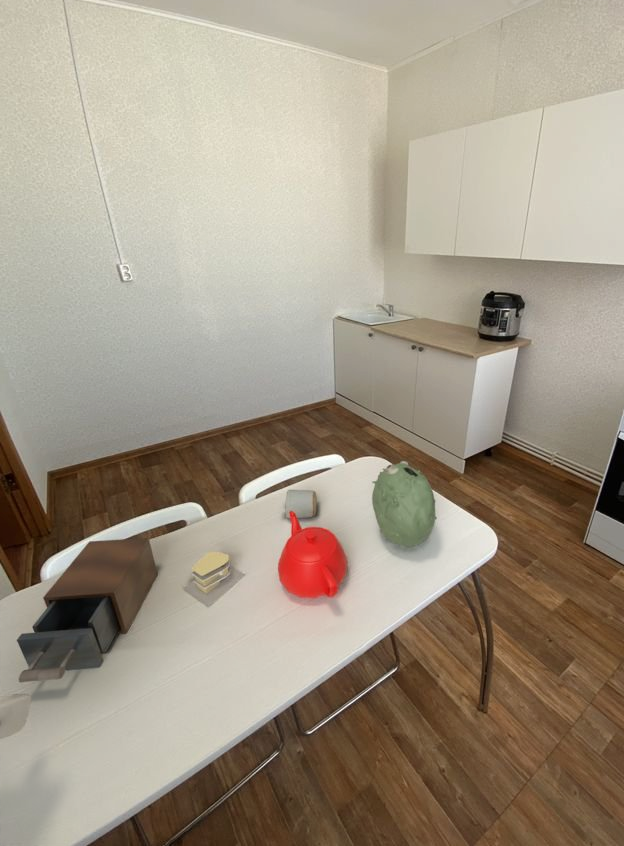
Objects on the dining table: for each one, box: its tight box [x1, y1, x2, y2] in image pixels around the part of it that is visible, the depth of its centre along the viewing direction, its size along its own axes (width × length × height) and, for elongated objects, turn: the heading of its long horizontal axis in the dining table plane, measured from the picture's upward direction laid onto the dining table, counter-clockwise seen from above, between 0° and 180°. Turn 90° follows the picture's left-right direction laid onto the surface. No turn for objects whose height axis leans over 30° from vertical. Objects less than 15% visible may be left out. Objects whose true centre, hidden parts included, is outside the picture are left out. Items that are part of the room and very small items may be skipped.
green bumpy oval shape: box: [371, 460, 437, 548], centre depth 95 cm, size 16×19×20 cm
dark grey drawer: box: [16, 596, 120, 683], centre depth 69 cm, size 18×11×9 cm, turn 4°
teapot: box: [277, 511, 348, 599], centre depth 86 cm, size 25×16×12 cm, turn 30°
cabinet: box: [42, 537, 159, 635], centre depth 79 cm, size 15×13×11 cm
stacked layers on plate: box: [182, 551, 246, 608], centre depth 85 cm, size 10×9×6 cm
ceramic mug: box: [285, 489, 317, 519], centre depth 108 cm, size 11×8×8 cm
